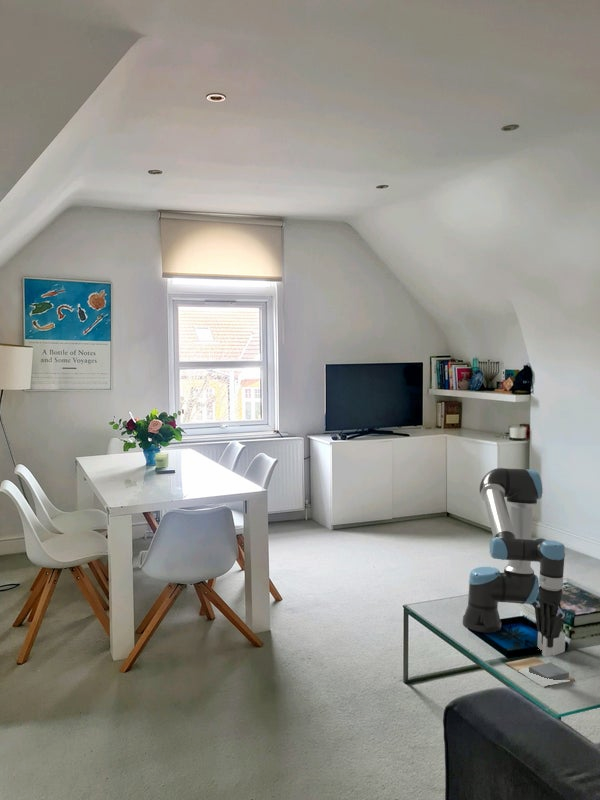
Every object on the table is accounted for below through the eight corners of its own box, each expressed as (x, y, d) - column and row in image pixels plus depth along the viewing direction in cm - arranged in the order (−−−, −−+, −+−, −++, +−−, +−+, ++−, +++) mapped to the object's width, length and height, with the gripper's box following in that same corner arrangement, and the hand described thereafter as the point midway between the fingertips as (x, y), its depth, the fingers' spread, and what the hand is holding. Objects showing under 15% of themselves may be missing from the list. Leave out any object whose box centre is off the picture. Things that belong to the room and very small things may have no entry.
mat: (505, 664, 229) (505, 662, 229) (534, 658, 235) (534, 656, 235) (543, 687, 213) (543, 686, 213) (574, 680, 219) (574, 679, 219)
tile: (529, 666, 222) (547, 677, 214) (550, 662, 226) (569, 672, 219) (528, 673, 222) (546, 684, 214) (550, 669, 226) (568, 679, 219)
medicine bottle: (564, 652, 242) (566, 620, 241) (553, 656, 238) (555, 624, 237) (548, 645, 248) (549, 614, 247) (536, 649, 244) (538, 617, 243)
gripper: (528, 582, 225) (524, 649, 226) (557, 594, 213) (553, 665, 214) (544, 580, 228) (540, 646, 229) (574, 592, 216) (569, 661, 217)
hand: (546, 655), depth 221 cm, fingers closed
